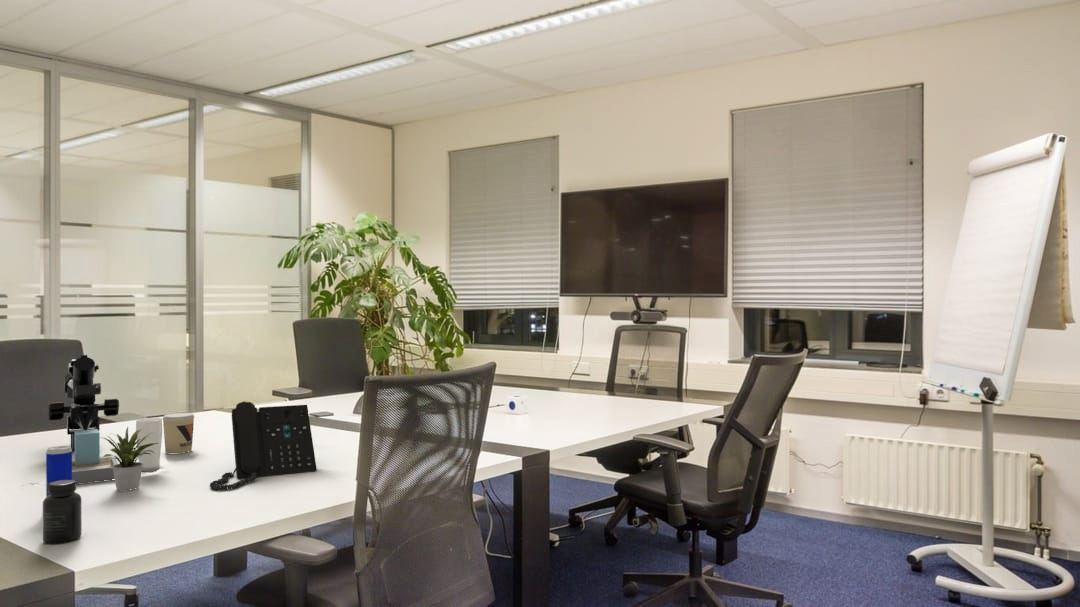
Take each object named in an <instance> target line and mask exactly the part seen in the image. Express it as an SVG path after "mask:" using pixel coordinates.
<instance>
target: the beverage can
mask: <svg viewBox="0 0 1080 607" xmlns="http://www.w3.org/2000/svg"><path fill="white" fill-rule="evenodd" d="M45 452H46V453H45V456H46V457H45V466H46V467H45V470H46V471H45V472H46V473H45V474H46V476H45V477H46V478H45V479H46V480H45V484H46V486H45V488H46V490H45V491H46V493H45V494H46V495H45V496H46V497H47V496H49V495H50V493H48V490H49V489H48V485H49V483H51V482H55V481H60V480H72V471H73V469H72V461H73V452H72V449H71V445H70V446H69V445H58V446H57V445H56V446H52V447H47V449H46V451H45ZM46 497H45V498H46Z"/></svg>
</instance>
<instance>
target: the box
mask: <svg viewBox="0 0 1080 607" xmlns="http://www.w3.org/2000/svg"><path fill="white" fill-rule="evenodd" d="M114 458H115V457H111V465H110V467H109V466H108V467H99V468H89V469H81V470H72V480H75V481H76V485H80V484H79V483H85V484H89V483H88V482H93V483H96V482H95V481H102V482H105V481H104V480H110V481H113V480H112V479H115V478H114V473H113V468H112V466H113V465H116V464H119V462H118V460H117V459H114Z"/></svg>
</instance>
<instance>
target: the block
mask: <svg viewBox="0 0 1080 607" xmlns="http://www.w3.org/2000/svg"><path fill="white" fill-rule="evenodd" d="M99 437H100V430H99V431H98V429H94V430H82V431H75V452H74V461H75V465H76V466H77V465H87V464H96V463H100V459H101V458H100V455H101V454H100V448H101V446H100V439H101V437H100V438H99Z"/></svg>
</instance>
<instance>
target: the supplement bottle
mask: <svg viewBox="0 0 1080 607" xmlns="http://www.w3.org/2000/svg"><path fill="white" fill-rule="evenodd" d="M48 489H49V490H48V493H50V495H49V496H47V497H45V498H44V500H43V501H42V541H43V543H44V544H46V545H63V544H68V543H71V542H74V541H77V540H79V539H80V538H81V537H82V529H83V528H82V525H83V524H82V496H81V495H80V494H79V493H78V492H75V491H76V490H77V484H76V481H75V480H60V481H55V482H51V483H49V485H48Z"/></svg>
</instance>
